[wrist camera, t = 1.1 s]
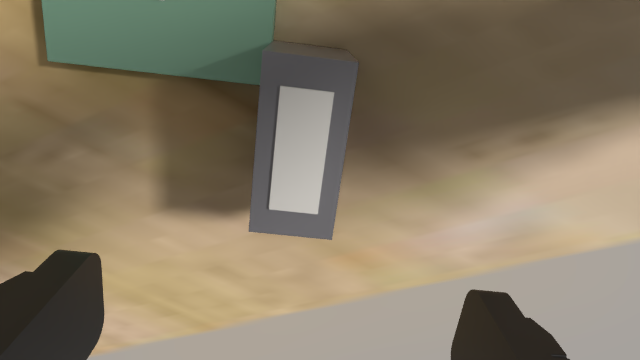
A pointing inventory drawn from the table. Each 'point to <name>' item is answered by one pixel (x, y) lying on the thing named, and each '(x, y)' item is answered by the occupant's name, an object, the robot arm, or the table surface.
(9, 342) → the robot arm
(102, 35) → the board
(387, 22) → the table surface
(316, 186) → the block
